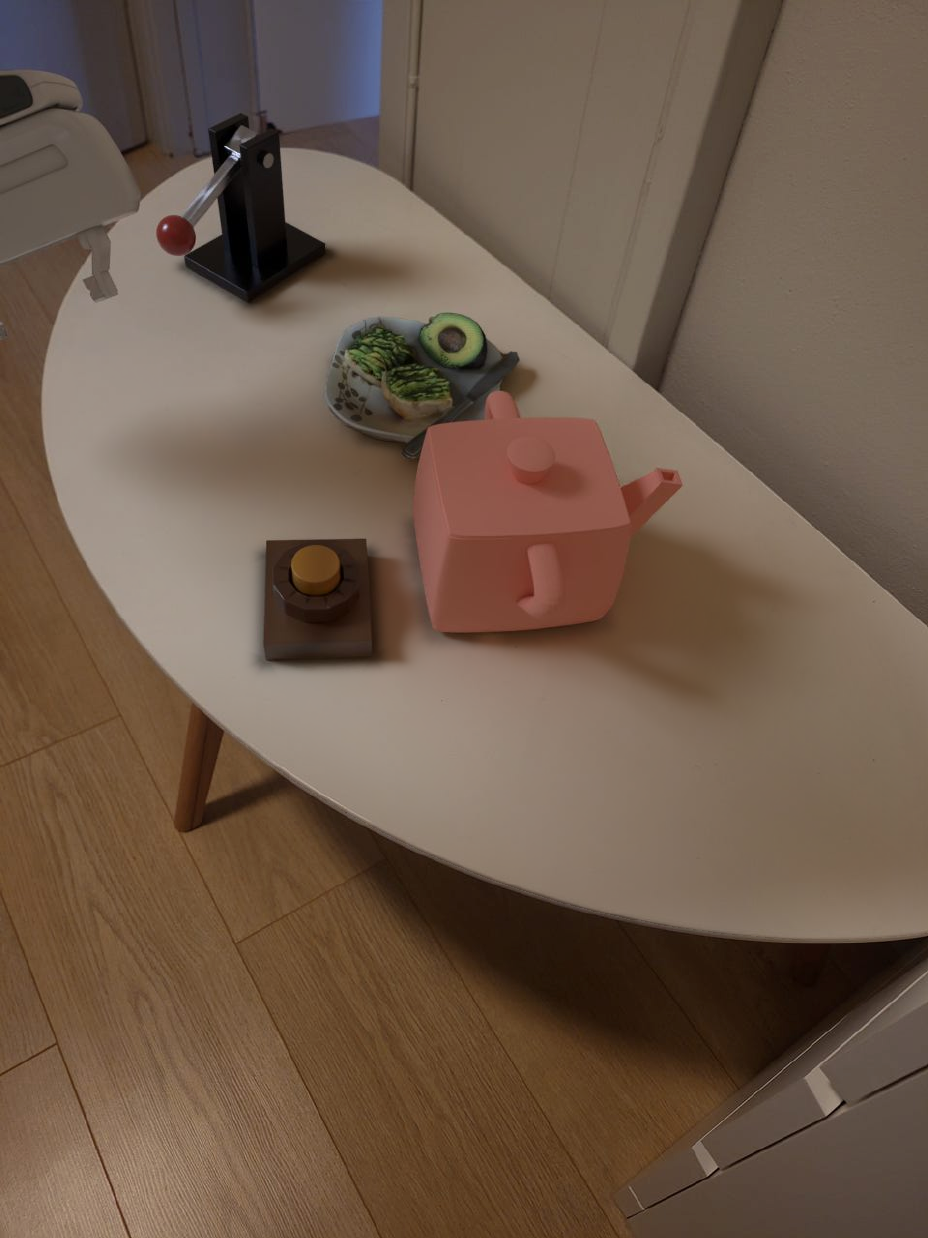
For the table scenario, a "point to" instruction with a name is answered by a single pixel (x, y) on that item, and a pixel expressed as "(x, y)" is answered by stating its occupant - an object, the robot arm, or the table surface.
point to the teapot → (524, 520)
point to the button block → (317, 605)
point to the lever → (201, 200)
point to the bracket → (252, 220)
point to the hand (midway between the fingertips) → (51, 320)
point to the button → (315, 570)
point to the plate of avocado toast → (413, 376)
